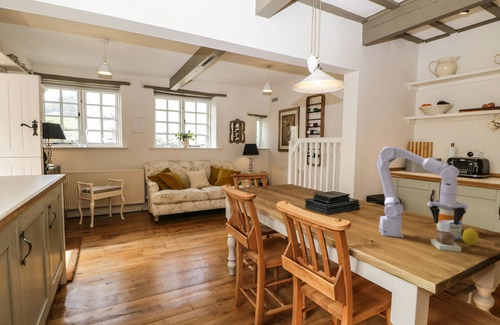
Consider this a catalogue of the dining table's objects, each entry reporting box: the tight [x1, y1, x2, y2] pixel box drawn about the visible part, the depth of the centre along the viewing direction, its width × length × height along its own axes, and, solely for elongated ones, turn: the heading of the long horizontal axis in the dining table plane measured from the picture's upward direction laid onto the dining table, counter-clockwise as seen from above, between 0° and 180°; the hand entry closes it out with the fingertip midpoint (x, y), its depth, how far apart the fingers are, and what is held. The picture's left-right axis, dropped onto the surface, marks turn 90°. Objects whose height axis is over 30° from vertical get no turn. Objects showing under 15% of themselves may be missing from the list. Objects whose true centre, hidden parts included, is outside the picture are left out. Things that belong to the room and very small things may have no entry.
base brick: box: [430, 238, 462, 253], centre depth 113 cm, size 8×8×2 cm
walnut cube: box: [436, 230, 455, 246], centre depth 113 cm, size 4×4×4 cm
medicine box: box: [439, 220, 463, 241], centre depth 124 cm, size 8×4×9 cm, turn 106°
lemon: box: [461, 227, 480, 247], centre depth 115 cm, size 6×6×8 cm
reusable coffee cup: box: [434, 199, 464, 231], centre depth 136 cm, size 12×13×15 cm
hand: (445, 223), depth 113 cm, fingers open, 7 cm apart
